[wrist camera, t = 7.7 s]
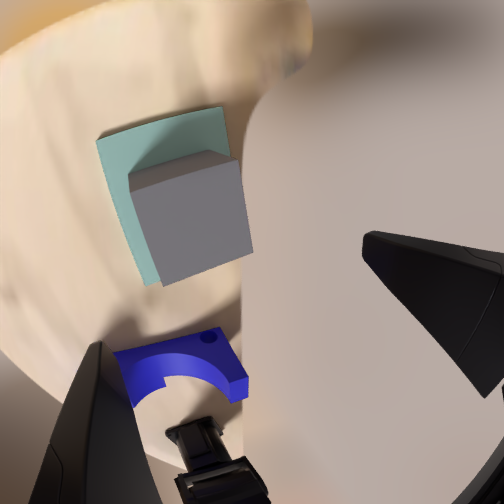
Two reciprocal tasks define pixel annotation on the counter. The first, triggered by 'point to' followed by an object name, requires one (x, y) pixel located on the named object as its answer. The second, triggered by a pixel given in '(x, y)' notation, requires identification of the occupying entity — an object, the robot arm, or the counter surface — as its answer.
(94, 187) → the counter surface
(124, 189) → the teal board
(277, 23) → the counter surface
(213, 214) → the gray cube block
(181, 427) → the robot arm
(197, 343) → the blue arched bracket
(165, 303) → the counter surface
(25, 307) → the counter surface
